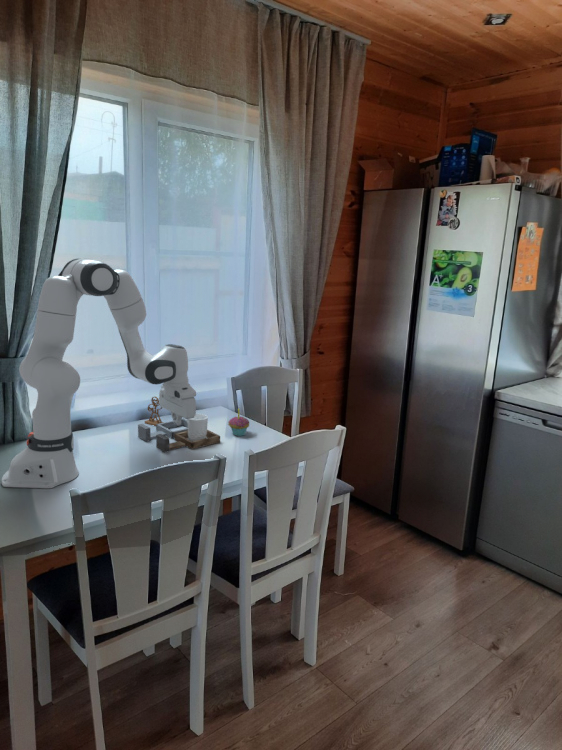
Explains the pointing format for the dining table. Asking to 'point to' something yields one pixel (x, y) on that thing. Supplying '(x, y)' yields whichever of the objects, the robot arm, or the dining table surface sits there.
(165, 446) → the walnut frame
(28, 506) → the dining table surface
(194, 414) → the robot arm
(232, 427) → the cupcake
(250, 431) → the dining table surface
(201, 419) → the white cup
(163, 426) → the grey frame
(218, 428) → the dining table surface
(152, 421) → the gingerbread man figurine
